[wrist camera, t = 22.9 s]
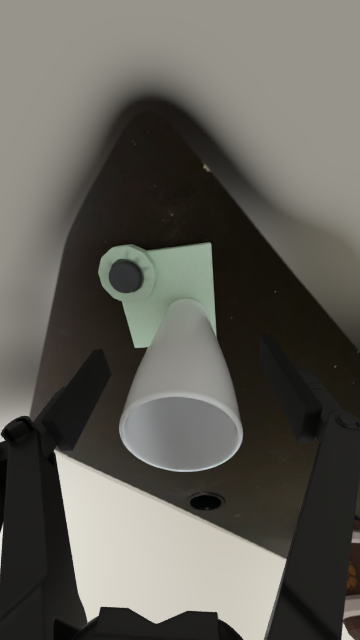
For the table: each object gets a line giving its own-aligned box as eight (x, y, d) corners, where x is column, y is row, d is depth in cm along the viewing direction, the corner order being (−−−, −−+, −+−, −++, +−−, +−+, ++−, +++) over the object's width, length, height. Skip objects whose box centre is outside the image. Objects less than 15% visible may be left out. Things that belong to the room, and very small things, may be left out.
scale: (103, 247, 22) (91, 250, 19) (209, 232, 21) (212, 233, 18) (130, 343, 28) (124, 356, 25) (215, 336, 26) (218, 348, 24)
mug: (341, 506, 44) (406, 629, 31) (378, 527, 48) (451, 645, 34) (272, 530, 52) (301, 637, 38) (309, 547, 55) (346, 650, 42)
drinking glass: (223, 300, 22) (270, 414, 9) (202, 346, 25) (214, 483, 12) (167, 282, 22) (130, 375, 8) (153, 331, 25) (107, 457, 11)
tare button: (110, 262, 20) (104, 265, 19) (138, 259, 20) (134, 261, 18) (118, 290, 21) (113, 295, 20) (144, 287, 21) (141, 292, 20)
